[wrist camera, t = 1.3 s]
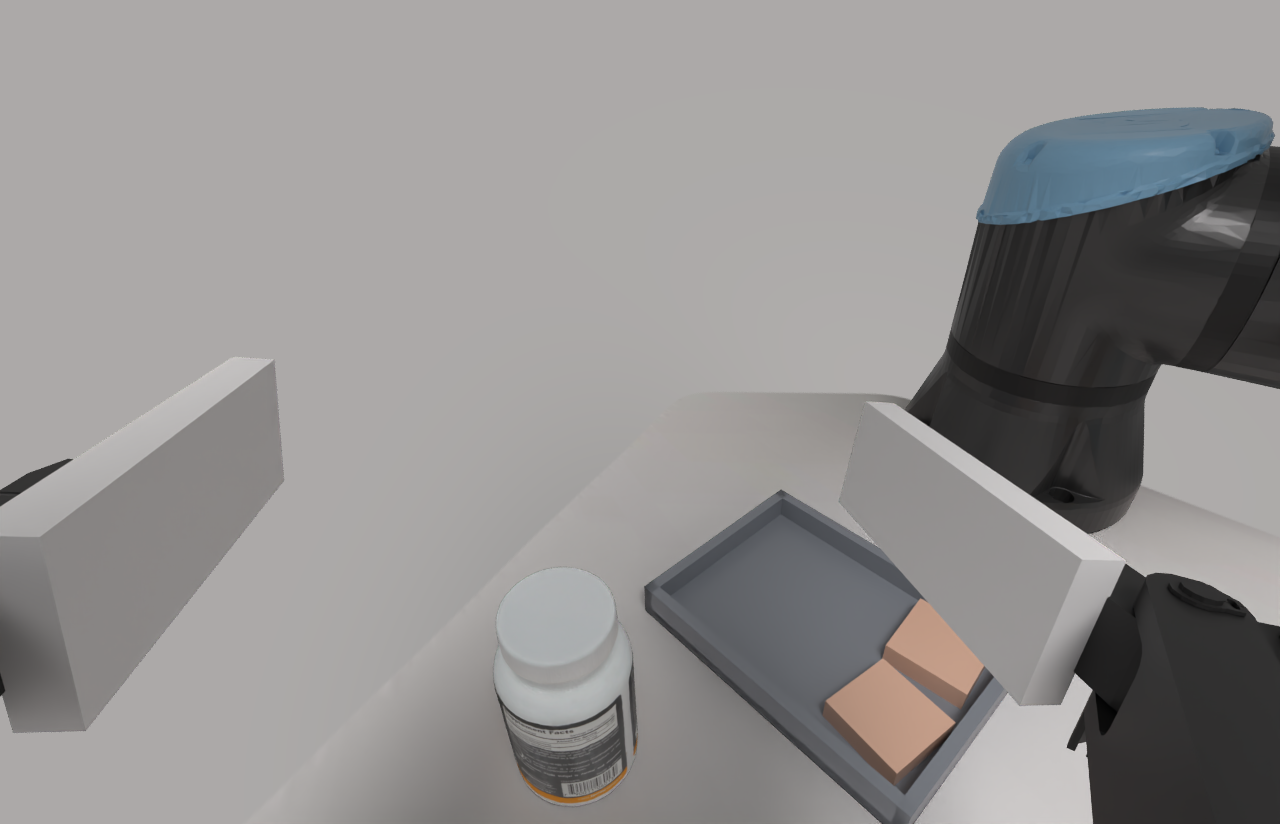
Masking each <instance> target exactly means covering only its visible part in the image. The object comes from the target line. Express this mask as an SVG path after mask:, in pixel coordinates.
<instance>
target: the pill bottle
mask: <svg viewBox="0 0 1280 824" xmlns="http://www.w3.org/2000/svg"><path fill="white" fill-rule="evenodd" d="M496 634H497V638H498V643H499V646H498V648H497V652H496V655H495V660H494V669H493V676H494V685H495V690H496V694H497V697H498V701H499V703H500V706H501V710H502V713H503V717H504V722H505V725H506V728H507V731H508V735H509V739H510V742H511V745H512V748H513V752H514V756H515V759H516V762H517V765H518V768H519V770H520V773H521V775H522V777H523V779H524V781H525V782H526V784H527V785H528V787H529V788H530V789H531V790H532V791H533V792H534V793H535V794H537V795H538V796H539V797H541V798H542V799H544V800H546V801H548V802H550V803H553V804H556V805H561V806H570V807H573V806H581V805H586V804H589V803H593V802H595V801H598V800H600V799H601V798H603V797H605V796H606V795H608V794H610V793H611V792H612V791H613V790H614V789H615V788H616V787H617V786H618V785H619V784H621V782H622V781H623V780H624V779H625V777H626V776H627V774H628V772H629V770H630V768H631V767H632V764H633V761H634V758H635V755H636V749H637V731H638V728H637V716H636V701H635V685H634V667H633V653H632V647H631V643H630V640H629V637H628V635H627V633H626V631H625V629H624V627H623V626H622V624H621V623H620V622H619V620H618V618H617V611H616V604H615V600H614V597H613V595H612V593H611V591H610V589H609V588H608V586H607V585H606V584H605V583H604V582H603V581H602V580H601V579H600V578H598V577H597V576H595V575H594V574H592V573H590V572H587V571H585V570H582V569H578V568H572V567H556V568H549V569H544V570H541V571H538V572H536V573H534V574H531V575H529V576H528V577H526V578H524V579H522V580H521V581H520V582H518V583H517V584H516V585H515V586H514V587H513V588H512V589H511V590H510V591H509V592H508V593H507V594H506V596H505V597H504V599H503V600H502V602H501V604H500V606H499V609H498V612H497V616H496Z"/></svg>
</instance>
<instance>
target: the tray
mask: <svg viewBox="0 0 1280 824" xmlns="http://www.w3.org/2000/svg"><path fill="white" fill-rule="evenodd" d="M644 588H645V609H646V611H647V612H648V613H649V614H650V615H651V616H653V617H654V618H655V619H656V620H657V621H658V622H659V623H660V624H661V625H663V626H664V627H665V628H666V629H667V630H668V631H669V632H670V633H671V634H673V635H674V636H675V637H676V638H677V639H678V640H679V641H680V642H681V643H683V644H684V645H685V646H686V647H687V648H688V649H689V650H690V651H691V652H693V653H694V654H695V655H696V656H697V657H698V658H699V659H700V660H701V661H702V662H704V663H705V664H706V665H707V666H708V667H709V668H710V669H711V670H712V671H714V672H715V673H716V674H717V675H718V676H719V677H720V678H721V679H722V680H724V681H725V682H726V683H727V684H728V685H729V686H730V687H731V688H732V689H734V690H735V691H736V692H737V693H738V694H739V695H740V696H741V697H742V698H743V699H745V700H746V701H747V702H748V703H749V704H750V705H751V706H752V707H753V708H755V709H756V710H757V711H758V712H759V713H760V714H761V715H762V716H763V717H765V718H766V719H767V720H768V721H769V722H770V723H771V724H772V725H773V726H775V727H776V728H777V729H778V730H779V731H780V732H781V733H782V734H783V735H785V736H786V737H787V738H788V739H789V740H790V741H791V742H792V743H793V744H794V745H796V746H797V747H798V748H799V749H800V750H801V751H802V752H803V753H804V754H806V755H807V756H808V757H809V758H810V759H811V760H812V761H813V762H814V763H816V764H817V765H818V766H819V767H820V768H821V769H822V770H823V771H824V772H826V773H827V774H828V775H829V776H830V777H831V778H832V779H833V780H834V781H835V782H837V783H838V784H839V785H840V786H841V787H842V788H843V789H844V790H845V791H847V792H848V793H849V794H850V795H851V796H852V797H853V798H854V799H855V800H857V801H858V802H859V803H860V804H861V805H862V806H863V807H864V808H865V809H867V810H868V811H869V812H870V813H871V814H872V815H873V816H874V817H875V818H877V819H878V820H879V821H880V822H881V823H882V824H914V823H915V821H916V820H917V818H918V817H919V816H920V814H921V813H922V811H923V810H924V809H925V807H926V806H927V804H928V803H929V802H930V800H931V799H932V797H933V796H934V795H935V793H936V792H937V790H938V789H939V788H940V786H941V785H942V784H943V782H944V781H945V779H946V778H947V777H948V775H949V774H950V772H951V771H952V770H953V768H954V767H955V765H956V764H957V763H958V761H959V760H960V758H961V757H962V756H963V754H964V753H965V752H966V750H967V749H968V747H969V746H970V745H971V743H972V742H973V740H974V739H975V738H976V736H977V735H978V733H979V732H980V731H981V729H982V728H983V726H984V725H985V724H986V722H987V721H988V720H989V718H990V717H991V715H992V714H993V713H994V711H995V710H996V708H997V707H998V706H999V704H1000V703H1001V701H1002V700H1003V699H1004V697H1005V696H1006V694H1007V693H1008V692H1007V691H1006V690H1005V689H1004V688H1003V686H1002V685H1001V684H1000V683H999V682H998V681H997V680H996V678H995V677H994V676H993V675H992V674H991V673H990V672H989V671H988V669H987V668H986V667H985V669H984V670H983V672H982V674H981V676H980V677H979V679H978V681H977V683H976V684H975V686H974V688H973V690H972V691H971V693H970V695H969V697H968V698H967V700H966V702H965V703H964V705H963V707H962V709H959V708H958V707H956V706H954V705H953V704H951V703H950V702H948V701H946V700H945V699H943V698H942V697H940V696H938V695H937V694H935V693H934V692H932V691H931V690H929V689H927V688H926V687H924V686H923V685H921V684H919V683H918V682H916V681H915V680H913V679H911V678H910V677H908V676H907V675H905V674H903V673H902V672H900V671H899V670H897V669H896V670H897V671H898V672H899V673H900V674H901V675H902V676H904V677H905V678H906V679H907V680H908V681H909V682H910V683H912V684H913V685H914V686H915V687H916V688H917V689H918V690H919V691H921V692H922V693H923V694H924V695H925V696H926V697H927V698H929V699H930V700H931V701H932V702H933V703H934V704H935V705H936V706H938V707H939V708H940V709H941V710H942V711H943V712H944V713H945V714H947V715H948V716H949V717H950V718H951V719H952V720H953V721H955V722H956V723H955V725H954V728H953V730H952V732H951V735H950V736H949V737H948V739H947V740H946V741H945V742H944V743H942V744H941V745H940V746H939V747H938V748H937V749H936V750H934V751H933V752H932V753H931V754H930V755H929V756H928V757H927V758H925V759H924V760H923V761H922V762H921V763H920V764H919V765H917V766H916V767H915V768H914V769H913V770H912V771H911V772H909V773H908V774H907V775H906V776H905V777H904V778H903V779H902V780H900V781H899V782H898V783H897V784H896V785H895V786H894V785H892V784H891V783H890V782H889V781H888V780H887V779H885V778H884V777H883V776H882V775H881V774H880V773H878V772H877V771H876V770H875V769H874V768H872V767H871V766H870V765H869V764H868V763H867V762H866V761H865V760H864V759H863V758H862V756H861V755H860V754H859V753H858V752H857V751H856V750H855V749H854V748H853V747H852V746H851V745H850V744H849V743H848V742H847V741H846V740H845V739H844V738H843V737H842V736H841V734H840V733H839V732H838V731H837V730H836V729H835V728H834V727H833V726H832V725H831V724H830V723H829V722H828V721H827V720H826V719H825V718H824V717H823V716H822V715H823V710H824V706H825V701H826V700H827V699H829V698H830V697H831V696H833V695H834V694H836V693H837V692H838V691H840V690H841V689H842V688H844V687H845V686H846V685H848V684H849V683H850V682H852V681H853V680H854V679H856V678H857V677H858V676H860V675H861V674H863V673H864V672H865V671H867V670H868V669H869V668H871V667H872V666H873V665H875V664H876V663H877V662H879V661H880V660H881V659H882V657H883V654H884V650H885V646H886V644H887V643H888V642H889V640H890V639H891V637H892V636H893V635H894V633H895V632H896V631H897V629H898V628H899V627H900V625H901V624H902V623H903V621H904V620H905V619H906V617H907V616H908V614H909V613H910V612H911V610H912V609H913V608H914V606H915V605H916V604H917V602H918V601H919V600H920V598H921V599H923V600H924V601H926V600H925V598H924V597H923V596H922V595H921V594H920V593H919V592H918V590H917V589H916V588H915V587H914V586H913V585H912V584H911V583H910V581H909V580H908V579H907V578H906V577H905V576H904V575H903V574H902V572H901V571H900V570H899V569H898V568H897V567H896V566H895V565H894V563H893V562H892V561H891V560H890V559H889V558H888V557H887V556H886V554H885V553H884V552H883V551H882V550H881V549H880V548H878V547H877V546H875V545H873V544H872V543H870V542H868V541H867V540H865V539H863V538H862V537H860V536H858V535H856V534H855V533H853V532H851V531H850V530H848V529H846V528H845V527H843V526H841V525H840V524H838V523H836V522H835V521H833V520H831V519H830V518H828V517H826V516H825V515H823V514H821V513H819V512H818V511H816V510H814V509H813V508H811V507H809V506H808V505H806V504H804V503H803V502H801V501H799V500H798V499H796V498H794V497H793V496H791V495H789V494H788V493H786V492H784V491H783V490H780V491H778V492H777V493H776V494H774V495H773V496H771V497H770V498H769V499H767V500H766V501H764V502H763V503H762V504H760V505H759V506H757V507H756V508H754V509H753V510H752V511H750V512H749V513H747V514H746V515H745V516H743V517H742V518H740V519H739V520H738V521H736V522H735V523H733V524H732V525H730V526H729V527H728V528H726V529H725V530H723V531H722V532H721V533H719V534H718V535H716V536H715V537H714V538H712V539H711V540H709V541H708V542H706V543H705V544H704V545H702V546H701V547H699V548H698V549H697V550H695V551H694V552H692V553H691V554H690V555H688V556H687V557H685V558H684V559H683V560H681V561H680V562H678V563H677V564H675V565H674V566H673V567H671V568H670V569H668V570H667V571H666V572H664V573H663V574H661V575H660V576H659V577H657V578H656V579H654V580H653V581H651V582H650V583H649V584H647V585H646V586H644ZM926 602H927V601H926ZM893 668H894V667H893Z"/></svg>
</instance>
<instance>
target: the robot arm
mask: <svg viewBox="0 0 1280 824" xmlns="http://www.w3.org/2000/svg"><path fill="white" fill-rule="evenodd" d="M1272 128H1273V121H1272V119H1271V118H1270V117H1269V116H1268V115H1266V114H1264V113H1260V112H1256V111H1250V110H1245V109H1235V108H1233V109H1209V110H1208V109H1206V108H1163V109H1145V110H1133V111H1121V112H1112V113H1103V114H1095V115H1087V116H1080V117H1075V118H1070V119H1064V120H1059V121H1054V122H1050V123H1047V124H1043V125H1040V126H1037V127H1034V128H1032V129H1029V130H1027V131H1025V132H1023V133H1022V134H1020V135H1018V136H1017V137H1015V138H1014V139H1013V140H1012V141H1010V143H1008V145H1007V146H1006V147H1005V148H1004V149H1003V150H1002V152H1001V153H1000V155H999V157H998V160H997V162H996V165H995V169H994V171H993V175H992V177H991V181H990V184H989V187H988V190H987V193H986V196H985V199H984V202H983V204H982V205H981V206H980V208H979V209H978V211H977V217H976V219H978V227H977V231H976V234H975V238H974V242H973V246H972V250H971V254H970V258H969V262H968V266H967V270H966V274H965V278H964V281H963V285H962V289H961V293H960V297H959V301H958V305H957V308H956V312H955V315H954V319H953V323H952V327H951V331H950V335H949V339H948V343H947V346H946V350H945V352H944V354H943V356H942V357H941V359H940V360H939V362H938V363H937V364H936V366H935V367H934V369H933V370H932V372H931V373H930V375H929V376H928V377H927V379H926V380H925V382H924V383H923V385H922V386H921V387H920V389H919V390H918V392H917V393H916V395H915V396H914V398H913V399H912V400H911V402H910V403H909V404H908V406H907V408H906V409H905V410H903V409H902V408H901V407H899V406H898V405H896V404H895V403H885V402H871V401H865V404H864V408H863V412H862V415H861V419H860V423H859V427H858V431H857V434H856V438H855V442H854V446H853V450H852V453H851V457H850V461H849V465H848V469H847V473H846V476H845V480H844V484H843V488H842V492H841V495H840V499H839V502H840V504H841V505H842V506H843V507H844V508H845V509H846V510H847V512H848V513H849V514H850V515H851V516H852V517H853V518H854V519H855V521H856V522H857V523H858V524H859V525H860V526H861V527H862V528H863V530H864V531H865V532H866V533H867V534H868V535H869V536H870V537H871V539H872V540H873V541H874V542H875V543H876V544H877V545H878V546H879V548H880V549H881V550H882V551H883V552H884V553H885V554H886V556H887V557H888V558H889V559H890V560H891V561H892V562H893V563H894V565H895V566H896V567H897V568H898V569H899V570H900V571H901V572H902V574H903V575H904V576H905V577H906V578H907V579H908V580H909V581H910V583H911V584H912V585H913V586H914V587H915V588H916V589H917V590H918V592H919V593H920V594H921V595H922V596H923V597H924V598H925V600H926V601H927V602H928V603H929V604H930V605H931V606H932V607H933V609H934V610H935V611H936V612H937V613H938V614H939V615H940V616H941V618H942V619H943V620H944V621H945V622H946V623H947V624H948V625H949V627H950V628H951V629H952V630H953V631H954V632H955V633H956V634H957V636H958V637H959V638H960V639H961V640H962V641H963V642H964V644H965V645H966V646H967V647H968V648H969V649H970V650H971V651H972V653H973V654H974V655H975V656H976V657H977V658H978V659H979V660H980V662H981V663H982V664H983V665H984V666H985V667H986V668H987V669H988V671H989V672H990V673H991V674H992V675H993V676H994V677H995V678H996V680H997V681H998V682H999V683H1000V684H1001V685H1002V686H1003V688H1004V689H1005V690H1006V691H1007V692H1008V693H1009V694H1010V695H1011V697H1012V698H1013V699H1014V700H1015V701H1016V702H1017V703H1018V704H1019V706H1028V705H1061V703H1062V701H1063V699H1064V696H1065V694H1066V692H1067V690H1068V688H1069V685H1070V683H1071V681H1072V679H1073V677H1074V674H1075V673H1076V674H1077V675H1078V676H1079V677H1080V678H1081V679H1082V680H1083V681H1084V682H1085V683H1086V684H1087V685H1088V686H1089V687H1090V688H1091V689H1092V690H1093V691H1092V693H1091V695H1090V697H1089V699H1088V701H1087V703H1086V706H1085V708H1084V710H1083V712H1082V714H1081V716H1080V718H1079V720H1078V722H1077V725H1076V727H1075V729H1074V731H1073V733H1072V735H1071V737H1070V739H1069V742H1068V745H1067V748H1069V749H1071V750H1073V751H1075V749H1076V747H1077V745H1078V743H1082V742H1086V743H1087V755H1086V757H1088V767H1089V779H1090V791H1091V803H1092V815H1093V824H1280V627H1279V626H1274V625H1269V624H1265V623H1260V622H1257V621H1256V619H1255V617H1254V616H1253V615H1252V614H1251V613H1250V612H1249V610H1248V609H1247V608H1246V607H1244V606H1243V605H1242V604H1241V603H1240V602H1239V601H1237V600H1235V599H1233V598H1231V597H1230V596H1228V595H1226V594H1224V593H1222V592H1220V591H1219V590H1217V589H1216V588H1214V587H1212V586H1210V585H1207V584H1205V583H1203V582H1200V581H1196V580H1192V579H1188V578H1185V577H1181V576H1177V575H1173V574H1165V573H1154V574H1150V575H1147V577H1144V576H1143V575H1141V574H1140V573H1138V572H1137V571H1135V570H1134V569H1132V568H1131V567H1130V566H1128V565H1127V564H1125V563H1126V560H1125V559H1123V558H1122V557H1120V556H1119V555H1117V554H1116V553H1115V552H1113V551H1112V550H1110V549H1109V548H1107V547H1106V546H1104V545H1103V544H1101V543H1100V542H1098V541H1097V540H1095V539H1094V538H1092V537H1091V536H1089V535H1088V534H1087V533H1092V532H1096V531H1099V530H1102V529H1105V528H1107V527H1109V526H1111V525H1113V524H1114V523H1116V522H1117V521H1119V520H1120V519H1121V518H1122V517H1123V516H1124V515H1125V514H1126V512H1127V510H1128V509H1129V507H1130V505H1131V503H1132V501H1133V499H1134V497H1135V495H1136V493H1137V491H1138V489H1139V487H1140V484H1141V481H1142V476H1143V449H1144V447H1143V446H1144V403H1145V397H1146V395H1147V392H1148V390H1149V388H1150V386H1151V384H1152V382H1153V380H1154V378H1155V375H1156V373H1157V371H1158V369H1159V368H1160V366H1161V364H1165V365H1172V366H1176V367H1182V368H1186V369H1191V370H1196V371H1201V372H1205V373H1210V374H1214V375H1219V376H1223V377H1228V378H1232V379H1237V380H1241V381H1246V382H1250V383H1255V384H1260V385H1264V386H1268V387H1273V388H1277V389H1280V147H1273V146H1270V145H1271V143H1272V141H1273V139H1274V137H1275V134H1274V132H1273V131H1272ZM278 411H279V410H278V398H277V386H276V373H275V361H274V360H271V359H257V358H243V357H232V358H230V359H229V360H227V361H226V362H224V363H223V364H221V365H220V366H218V367H217V368H215V369H213V370H212V371H210V372H209V373H207V374H206V375H204V376H203V377H201V378H200V379H198V380H196V381H195V382H193V383H192V384H190V385H189V386H187V387H185V388H184V389H182V390H181V391H179V392H178V393H176V394H175V395H173V396H171V397H170V398H168V399H167V400H165V401H164V402H162V403H161V404H159V405H158V406H156V407H154V408H153V409H151V410H150V411H148V412H147V413H145V414H143V415H142V416H140V417H139V418H137V419H136V420H134V421H133V422H131V423H130V424H128V425H126V426H125V427H123V428H122V429H120V430H119V431H117V432H116V433H114V434H112V435H111V436H109V437H108V438H106V439H105V440H103V441H102V442H100V443H98V444H97V445H95V446H94V447H92V448H91V449H89V450H88V451H86V452H84V453H83V454H81V455H80V456H78V457H77V458H75V459H66V460H63V461H61V462H58V463H55V464H52V465H50V466H47V467H44V468H41V469H39V470H36V471H33V472H30V473H28V474H26V475H24V476H23V477H21V478H19V479H18V480H16V481H15V482H13V483H11V484H10V485H8V486H6V487H5V488H3V489H1V490H0V696H1V695H2V696H3V700H4V703H5V706H6V710H7V713H8V717H9V720H10V723H11V727H12V730H13V733H24V732H25V733H27V732H62V731H86V730H87V729H88V727H89V726H90V725H91V724H92V722H93V721H94V720H95V719H96V717H97V716H98V715H99V714H100V712H101V711H102V710H103V709H104V707H105V706H106V705H107V704H108V702H109V701H110V700H111V698H112V697H113V696H114V695H115V693H116V692H117V691H118V690H119V688H120V687H121V686H122V685H123V683H124V682H125V681H126V680H127V678H128V677H129V676H130V674H131V673H132V672H133V671H134V669H135V668H136V667H137V666H138V664H139V663H140V662H141V661H142V659H143V658H144V657H145V656H146V654H147V653H148V652H149V651H150V649H151V648H152V647H153V645H154V644H155V643H156V641H157V640H158V639H159V638H160V636H161V635H162V634H163V633H164V632H165V630H166V629H167V628H168V626H169V625H170V624H171V623H172V621H173V620H174V619H175V618H176V616H177V615H178V614H179V613H180V611H181V610H182V609H183V607H184V606H185V605H186V604H187V603H188V601H189V600H190V599H191V597H192V596H193V595H194V594H195V592H196V591H197V590H198V589H199V587H200V586H201V585H202V584H203V582H204V581H205V580H206V579H207V577H208V576H209V575H210V574H211V572H212V571H213V570H214V568H215V567H216V566H217V565H218V563H219V562H220V561H221V560H222V558H223V557H224V556H225V555H226V553H227V552H228V551H229V549H230V548H231V547H232V546H233V544H234V543H235V542H236V541H237V539H238V538H239V537H240V536H241V534H242V533H243V532H244V531H245V529H246V528H247V527H248V526H249V524H250V523H251V522H252V520H253V519H254V518H255V517H256V515H257V514H258V513H259V511H260V510H261V509H262V508H263V507H264V505H265V504H266V503H267V502H268V500H269V499H270V498H271V496H272V495H273V494H274V493H275V491H276V490H277V489H278V487H279V486H280V485H281V484H282V483H283V481H284V473H283V461H282V449H281V435H280V424H279V412H278Z"/></svg>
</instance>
